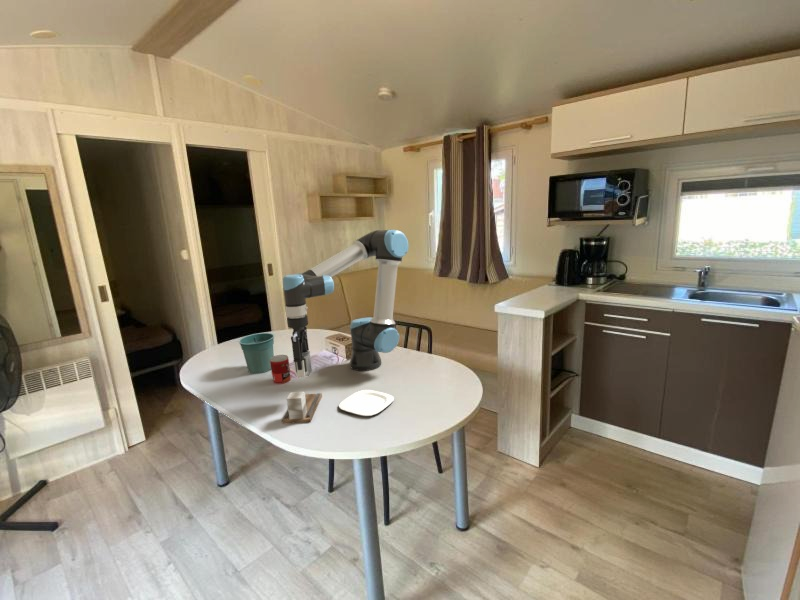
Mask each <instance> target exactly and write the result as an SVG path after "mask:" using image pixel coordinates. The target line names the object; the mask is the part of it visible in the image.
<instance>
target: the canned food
mask: <svg viewBox="0 0 800 600" xmlns="http://www.w3.org/2000/svg"><path fill="white" fill-rule="evenodd" d="M289 360H290V359H289V356H288V354H276V355H274V356H273V357H271V358H270V364H271V370H270V371H271V375H272V376H271V377H272V381H273V383H274V384H278V385H279V384H280V385H282V384H285V383H288V382H290V380H291V379H292V375H291V367H290V361H289Z"/></svg>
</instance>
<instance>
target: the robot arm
mask: <svg viewBox="0 0 800 600" xmlns="http://www.w3.org/2000/svg"><path fill="white" fill-rule="evenodd" d="M408 252H409V241H408V238H407V236H406V235H405V233H404V232H403V231H400V230H397V229H387V230H386V229H385V230H384V229H382V230H381V229H380V230H379V229H377V230H373V231H371V232H368V233H366V234H365V235H364V236H361V237H359V238H358V239H355V241H353V242H352V245H350V246H348V247H347V248H344V249H343V250H342V251H341V250H340V252H338V253H336V254H334V255H332V256H330V257H329V258H327V259H325V260H324V261H322V262H320V263H319V264H317V265H315V266H313V267H311V268H310V269H308V270H306V271H304V272H302V273H294V274H287V275H285V276H282V277H283V278H282V290H283V296H284V297H283V299H284V303H285V305H284V307H285V313H286V317H287V318H286V322H287V323H286V324H287V327H288V328H290V329H292V336H291V337H290V341H291V346H292V355H293V363H294V362H296V366H297V374H298V377H297V378H306V376H305V368H304V360H303V357H302V352H310V353H311V351H310V350H309V347H310V346H309V341H308V340H309V339H308V333H307V332H308V331H307V329H308V328H307V326H308V325H309V316H308V315H307V314H308V309H309V307H308V306H307V299H310V298H316V297H322V296H326V295H330V294H332V293H333V292H334V291H335V282H334V279H333V278H332V277H334V276H336V275H338V274H339V273H341V272H342V271H344V270H346V269H348V268H349V267H351V266H353V265H354V264H357V263H358V262H359V261H361V260H362V261H363V260H364V261H365V260H367V259H369V258H371V257H375V261H376V262H377V264H378V266H377V267H378V268H377V276H376V285H375V287H376V288H375V297H374V308H373V317H369V316H368V317H362V318H361V317H360V318H356V319H354V320H352V321H351V322H350V326H349V327H350V329H349V330H350V337H351V339H350V340H351V347H352V351H351V356H350V360H349V365H350V369H352V370H354V371H365V372H366V371H373V370H375V369H378V368H379V367H380V366H381V365H382V358H381V355H380V353H382V354H388V353H391V352H392V351H393V350H394V349H396V348H397V346H398V344H399V341H400V333H399V332H398V330H397V329H396V321H395V320H394V316H393V315H394V308H395V307H394V306H395V296H396V287H397V278H398V269H399V268H398V267H399V265H400V264H402V261H403V257H405V256H406V254H407V253H408Z"/></svg>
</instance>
